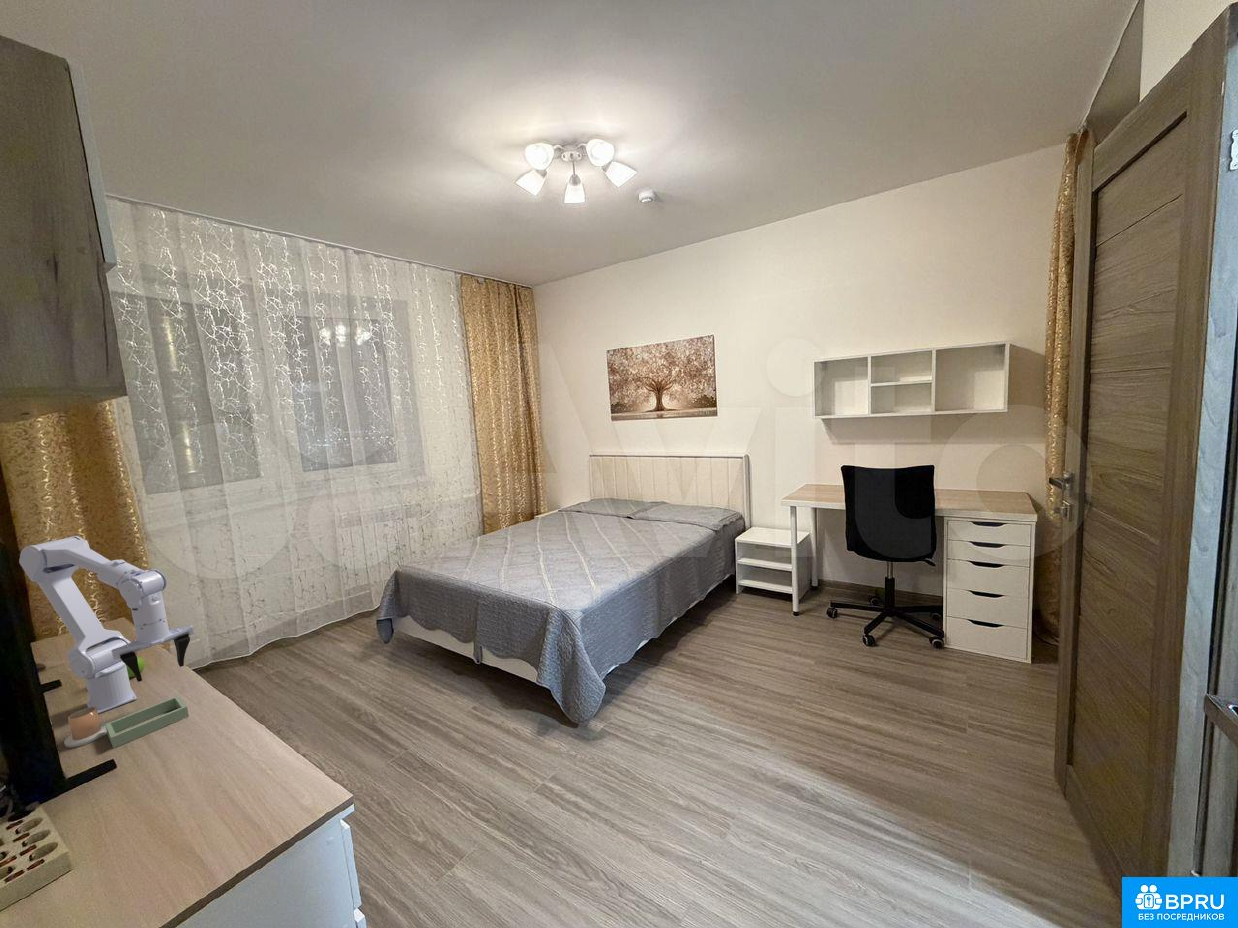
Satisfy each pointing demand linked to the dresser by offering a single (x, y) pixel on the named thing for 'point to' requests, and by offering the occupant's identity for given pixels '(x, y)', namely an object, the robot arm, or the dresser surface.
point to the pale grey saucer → (76, 743)
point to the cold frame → (149, 725)
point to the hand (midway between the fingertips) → (160, 672)
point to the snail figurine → (140, 663)
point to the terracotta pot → (84, 723)
